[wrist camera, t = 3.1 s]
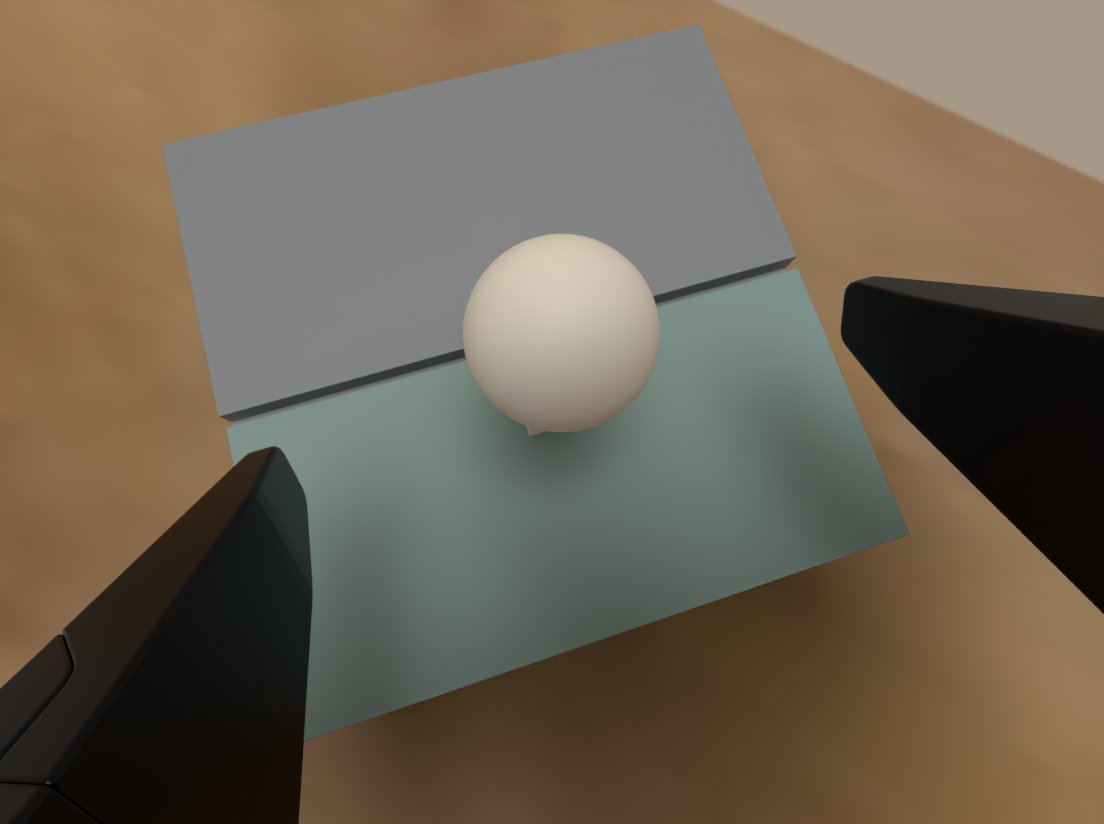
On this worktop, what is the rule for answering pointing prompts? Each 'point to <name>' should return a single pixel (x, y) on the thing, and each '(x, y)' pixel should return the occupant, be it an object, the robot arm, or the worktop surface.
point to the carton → (457, 211)
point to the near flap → (569, 476)
